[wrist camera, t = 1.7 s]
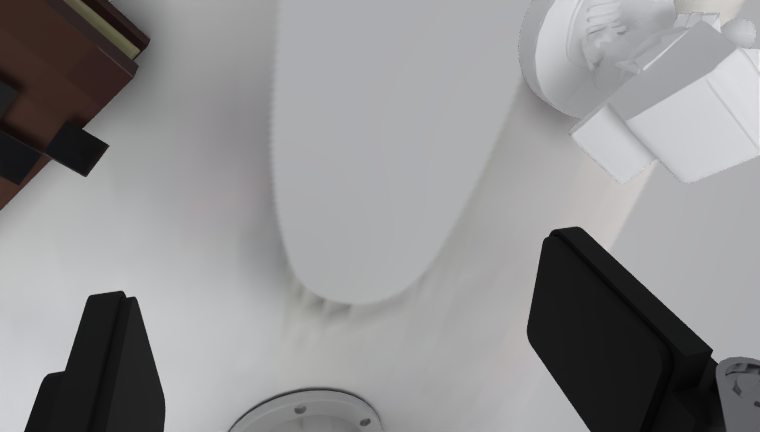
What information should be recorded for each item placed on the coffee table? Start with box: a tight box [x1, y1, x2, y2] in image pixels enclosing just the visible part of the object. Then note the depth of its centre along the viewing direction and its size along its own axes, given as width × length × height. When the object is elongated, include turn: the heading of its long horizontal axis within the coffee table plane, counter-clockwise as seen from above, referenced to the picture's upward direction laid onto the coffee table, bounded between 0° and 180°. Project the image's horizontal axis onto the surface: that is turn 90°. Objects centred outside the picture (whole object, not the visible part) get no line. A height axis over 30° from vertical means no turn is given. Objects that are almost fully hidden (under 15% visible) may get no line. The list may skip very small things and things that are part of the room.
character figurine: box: [518, 0, 760, 184], centre depth 27 cm, size 9×10×12 cm
